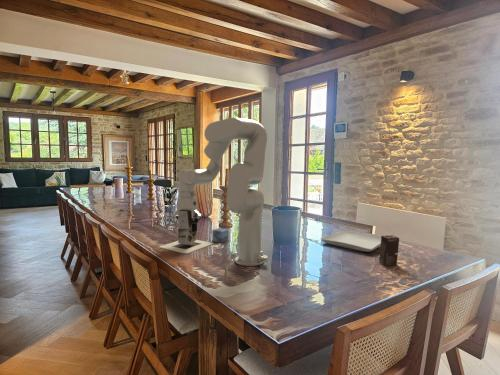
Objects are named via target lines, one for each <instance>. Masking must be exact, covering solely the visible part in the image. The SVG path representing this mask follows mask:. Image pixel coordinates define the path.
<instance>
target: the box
mask: <svg viewBox="0 0 500 375" xmlns="http://www.w3.org/2000/svg"><path fill="white" fill-rule="evenodd" d="M399 243H400V237H398V236H396V235H381V246H380V247H379V248H380V249H379V261H378V262H379V264H380V265H382V266H397V264H398V257H399V254H398V253H399V247H400V246H399V245H400V244H399Z"/></svg>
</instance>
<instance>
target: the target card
mask: <svg viewBox="0 0 500 375" xmlns="http://www.w3.org/2000/svg"><path fill="white" fill-rule="evenodd" d="M192 244H197V245H194V246H191V247H189V248H186V249H185V248H180V247H178V246H179V245H182V243H178V240H176V241H173V242H170V243H166V244H163V245H161V246H158V248H159V249H164V250H168V251H172V252H177V253H181V254H184V255H185V254H186V255H189V254H191V253H192V252H193V253H194V252H196V251H198V250H202V249H203V248H207V247H209V246H212V245H214V244H215V243H214V242H211V241H210V242H209V241H204V240H199V239H197V240H196V241H194V242H192ZM176 246H177V247H176Z"/></svg>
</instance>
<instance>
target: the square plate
mask: <svg viewBox="0 0 500 375" xmlns="http://www.w3.org/2000/svg"><path fill="white" fill-rule="evenodd" d="M381 236H382V235H381ZM381 236H379V235H377V234H376V235H375V234H370V233H364V232H359V231H358V232H357V231H351V230H341V231H338V232H334V233H332V234H329V235H326V236H323V237H320V240H321V241H322V242H324V243H325V244H329V245H332V246H335V247H340V248H345V249H349V250H352V251H353V250H354V251H359V252H365V253H366V252H367V253H370V252H372V251H374V250H376V249H377V248H380V247H381Z"/></svg>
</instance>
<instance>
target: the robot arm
mask: <svg viewBox="0 0 500 375" xmlns="http://www.w3.org/2000/svg"><path fill="white" fill-rule="evenodd" d="M204 137H205V139H206V141H208V143H207V144H206V146H205V147H204V150H203V153H204V155H205V156H206V157H207V159H209V162H208V164H207V166H206V167H205V168H196V169H187V168H186V169H185V168H184V169H179V171H178V199H177V200H178V201H177V209H176V211H175V212H174V213H173V214H174V216H175V219H176V222H178V211H179V210H189V211H191V218H192V223H193V224H192V232H195V231H197V232H198V223H199V221H200V220H201V219H202V218H201V217H202V214H201V213H200V212H199V205H198V204H199V203H198V200H197V197H196V196H197V193H196V190H195V189H196V187H195V186H203V185H209V184H211V183H212V182H213V181H214V180H216V178H217V176H218V175H219V174H220V171H221V168H222V161H221V160H222V157H223V156H224V155H225V153H226V151H227V150H228V149H229V147H230V146H231V143H233V140H242V141H244V140H245V141H248V142H247V144H246V146H245V148H244V151H243V152H244V154H243V161H241V162H239V161H238V162H237V163H235V164H233V165H232V166H231V168H230V170H229V172H228V179H227V191H226V205H227V208H228V210H229V211H231V212H232V213H234V214H240V215H239V219H238V255H237V256H236V257H234V263H236V264H237V265H240V266H246V267H255V266H260V265H262V264H264V263H265V262H266V263H268V262H269V255H265V254H264V251H263V250H262V218H263V211H264V210H263V208H264V204H265V197H264V194H263V192H262V191H261V190H260V189H258V188H256V187H249V186H254V185H258V184H260V183H261V182H262V181H263V178H264V170H265V169H264V168H265V160H266V149H267V142H268V133H267V131H266V128H265V127H264V125H263V124H261V123H260V122H259V121H256V120H254V119H249V118H242V117H227V118H224V119H221V120H217V121H213V122H210V123H209V124H208V125H207V126H206V128H205V129H204ZM193 216H194V217H193ZM196 217H197V218H196Z"/></svg>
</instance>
